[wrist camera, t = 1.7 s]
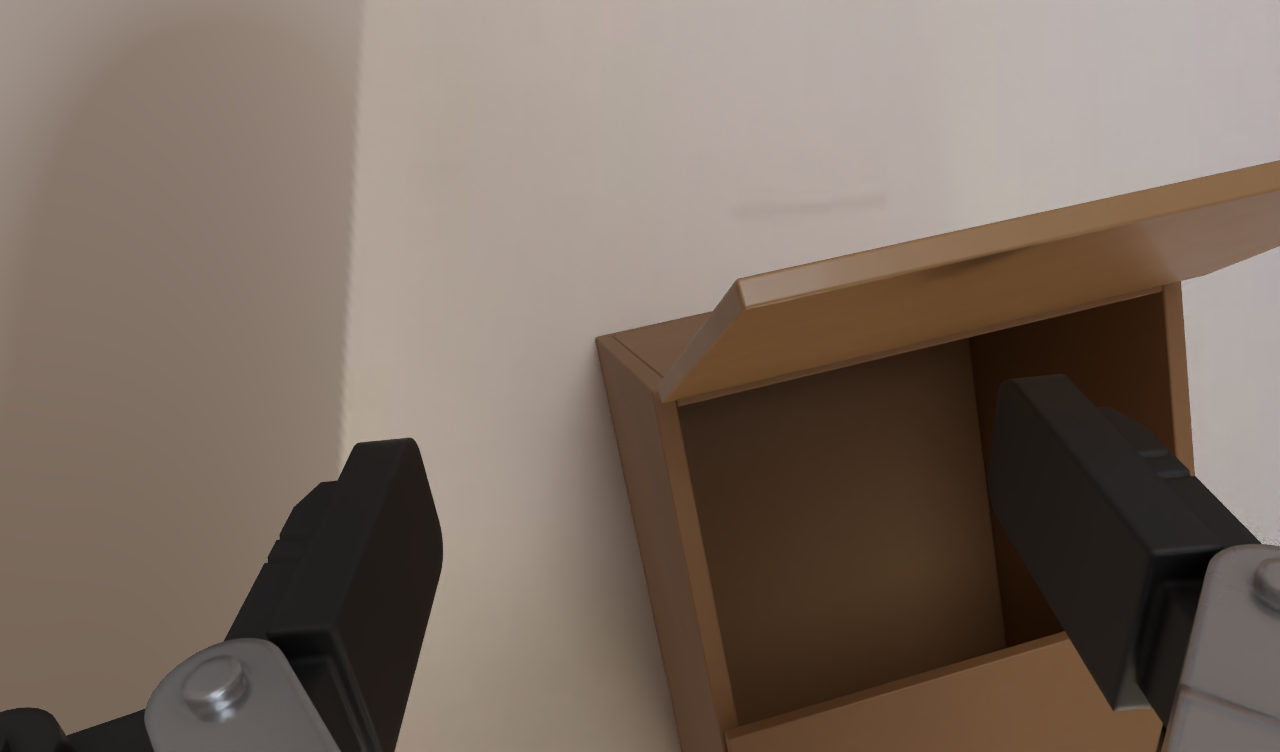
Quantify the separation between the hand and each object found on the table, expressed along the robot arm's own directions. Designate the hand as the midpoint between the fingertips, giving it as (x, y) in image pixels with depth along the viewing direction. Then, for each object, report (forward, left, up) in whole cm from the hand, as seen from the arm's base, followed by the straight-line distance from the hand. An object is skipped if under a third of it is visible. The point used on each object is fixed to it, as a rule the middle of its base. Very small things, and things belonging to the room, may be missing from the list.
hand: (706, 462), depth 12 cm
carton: (+8, +7, -16) cm, 19 cm away
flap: (-1, +7, -2) cm, 7 cm away
